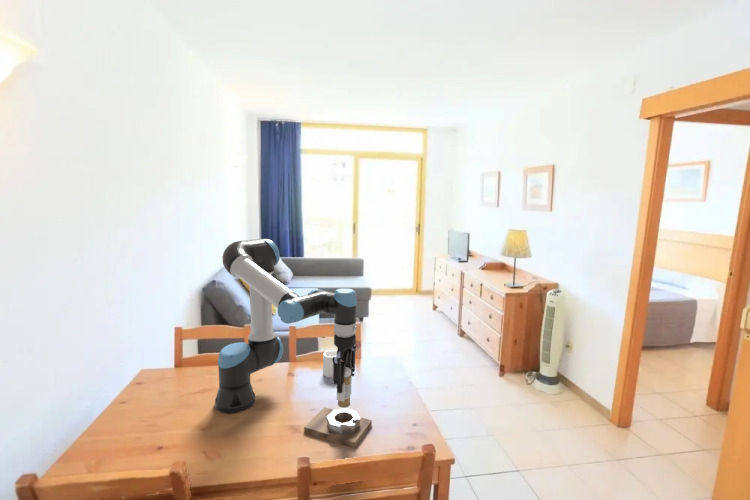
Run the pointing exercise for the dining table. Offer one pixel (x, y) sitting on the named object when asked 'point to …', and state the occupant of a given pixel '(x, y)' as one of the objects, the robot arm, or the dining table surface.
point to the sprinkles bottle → (346, 389)
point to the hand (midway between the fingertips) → (344, 396)
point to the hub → (343, 427)
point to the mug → (328, 363)
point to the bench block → (321, 430)
